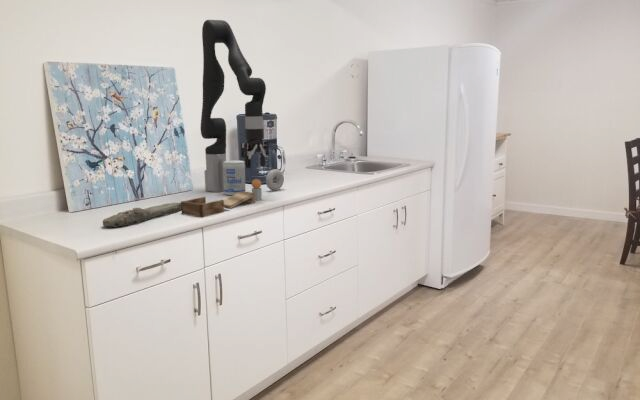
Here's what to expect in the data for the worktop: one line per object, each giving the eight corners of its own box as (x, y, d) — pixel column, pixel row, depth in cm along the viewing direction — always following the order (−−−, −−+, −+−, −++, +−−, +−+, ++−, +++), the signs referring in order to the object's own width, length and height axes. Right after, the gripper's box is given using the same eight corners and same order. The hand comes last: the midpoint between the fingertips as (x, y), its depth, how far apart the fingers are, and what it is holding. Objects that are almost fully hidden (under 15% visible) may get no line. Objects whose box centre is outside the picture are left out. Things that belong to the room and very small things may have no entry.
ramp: (242, 200, 214) (242, 191, 213) (254, 202, 210) (254, 192, 209) (217, 206, 203) (217, 196, 202) (230, 208, 199) (229, 198, 198)
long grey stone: (190, 213, 198) (171, 212, 202) (189, 200, 197) (170, 199, 202) (116, 229, 167) (95, 227, 172) (115, 213, 166) (94, 212, 171)
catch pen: (204, 208, 200) (203, 196, 199) (223, 211, 193) (223, 200, 193) (181, 213, 191) (180, 201, 190) (201, 217, 185) (200, 204, 184)
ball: (250, 189, 213) (249, 179, 213) (254, 187, 217) (253, 178, 216) (259, 189, 212) (258, 180, 211) (262, 188, 216) (262, 178, 215)
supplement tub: (227, 196, 223) (225, 163, 220) (221, 193, 231) (220, 160, 228) (248, 195, 227) (247, 161, 224) (242, 191, 235) (241, 159, 232)
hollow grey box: (256, 198, 218) (256, 187, 217) (261, 199, 216) (261, 187, 215) (252, 199, 215) (251, 188, 214) (257, 200, 214) (256, 188, 213)
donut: (269, 192, 232) (268, 170, 230) (264, 191, 235) (263, 169, 233) (285, 189, 239) (285, 168, 237) (280, 188, 242) (280, 167, 240)
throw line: (210, 206, 202) (210, 206, 202) (229, 210, 196) (229, 209, 196) (206, 207, 201) (206, 207, 201) (226, 211, 194) (226, 210, 194)
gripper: (248, 128, 202) (250, 169, 205) (272, 127, 213) (273, 165, 216) (235, 128, 206) (237, 168, 209) (259, 126, 218) (260, 164, 221)
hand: (255, 167), depth 213 cm, fingers open, 8 cm apart
